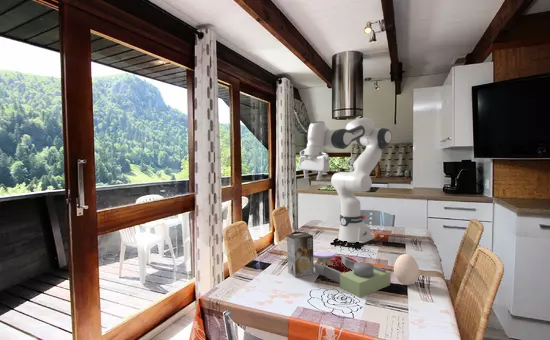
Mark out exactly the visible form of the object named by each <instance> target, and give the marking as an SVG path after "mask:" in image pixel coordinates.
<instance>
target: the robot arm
mask: <svg viewBox="0 0 550 340" xmlns="http://www.w3.org/2000/svg"><path fill="white" fill-rule="evenodd" d="M307 131H308V132H307V144H306V148H304V149H303V150H300V152H299V155H300V157H299V160H298V168H299V170H302V171H303V175H304V177H303V178H304V179H305V180H308V179H309V177H310V176H309V174H308V173H309V171H314V172H315V171H316V172H317V176H316V177H315V180H316V181H321V179H322V176H323V174H324V172H325V173H327V172H328V171H329V170H330V159H329V154H328V153H327V152H324V150H325V149H338V150H345V149H347V148H349V146H350V145H351V144H352V143H353V142H356V143H357V144H358V146H361V147H365V149H364V150H363V151H362V153H361V154H360V155H358V157H357V158H356V159H355V161H354V162H353V166H352V167H353V171H351V172H350V171H339V172H335V173H334V174H333V175H332V176H331V178H330V179H331V180H330V183H331V184H330V185H331V186H332V187H333V188H334V189H335V191H336V193H337V195H338V198H339V201H340V215H339V221H340V222H339V227H338V228H339V230H338V234H337V239H338V240H339V241H342V242H344V241H347V242H346V243H356V242H359V244H360V243H361V244H365V243H368V242H369V241H371V240H374V239H375V238H376V236H375V235H374V234H373V233H372V232H371V231H372V229H371V228H370V226H369V225H367V224H366V223H365V222H364V221H363V220H365V219H366V215H361V201H360V200H359V198H358V197H357V196H356V195H355V193H363V192H364V193H365V192H369V190H370V189H371V187H372V185H373V184H372V183H373V181H372V178H371V176H370V175H371V173H372V171H373V170H374V169H375V167H376V166H377V164H378V163H379V162H380V159H381V157H382V154H383V153H382V150H385V149H386V148H387V147H388V146H389V144H390V143H391V142H392V138H393V134H392V131H391V130H390V129H389V128H385V127H381V128H379V127H378V128H377V127H375V123H374V120H373V119H371V118H369V117H361V118H356V119H353V120H351V121H350V122H348V123H347V124H346V125H345V128H339V129H330V128H328V127H327V125H326V122H325V121H322V120H320V121H313V122H310V124H309V126H308V130H307Z"/></svg>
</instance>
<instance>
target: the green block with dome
mask: <svg viewBox="0 0 550 340" xmlns="http://www.w3.org/2000/svg"><path fill="white" fill-rule="evenodd" d="M342 273H343V274H340V283H339V288H340V289H341V290H344V291H346V292H347V293H350V294H351V295H353V296H355V297H357V298H362V297H364V296H367V295H369V294H372V293H374V292H376V291H379V290H382V289H383V288H387V287H389V286H391V271H389V270H386V269H384V268H383V267H379V266H377V265H373V264H371V263H369V262H363V261H361V262H357V263H355V264H354V270H352V271H351V270H348V271H347V272H342Z"/></svg>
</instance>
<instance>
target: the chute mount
mask: <svg viewBox="0 0 550 340" xmlns="http://www.w3.org/2000/svg"><path fill="white" fill-rule="evenodd" d="M342 263H343V264H344V265H345V266H346V267H348V268H350V269H351V270H354V264H355V263H358V262H357V261H354V260H352V259H349V258H347V257H346V256H344V255H341V264H342ZM351 270H350V271H351ZM343 273H344V272H342V271H339V270H338V269H337V270H336V269H334V268H333V267H328V265H327V264H326V265H322V263H320V264H318V263H316V264H315V267H314V274H316V275H320V276H324V277H326V278H328V279H330V280H331V281H334V282H335V283H338V284H340V274H343Z"/></svg>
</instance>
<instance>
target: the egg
mask: <svg viewBox="0 0 550 340" xmlns="http://www.w3.org/2000/svg"><path fill="white" fill-rule="evenodd" d="M393 273H394V276H395V278H396V279H397V281H398V282H399V283H400V284H402V285H404V286H411V285H413V284H415V283H417V282H418V279H419V277H420V267H419V264H418V262H417V260H416V259H415V258H414V257H413V256H412V255H410V254H409V253H403V254H401V255H399V256H397V258H396V260H395V263H394V265H393Z"/></svg>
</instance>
